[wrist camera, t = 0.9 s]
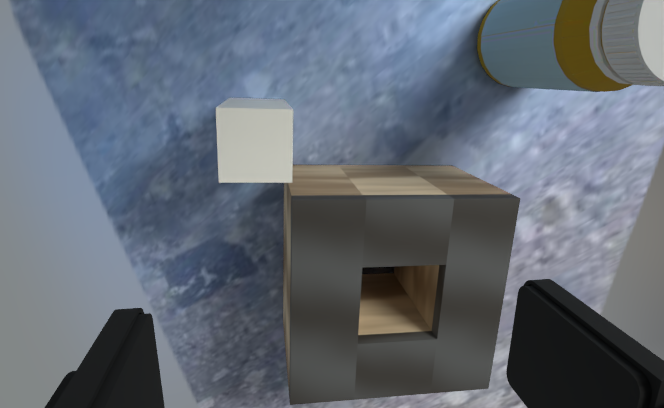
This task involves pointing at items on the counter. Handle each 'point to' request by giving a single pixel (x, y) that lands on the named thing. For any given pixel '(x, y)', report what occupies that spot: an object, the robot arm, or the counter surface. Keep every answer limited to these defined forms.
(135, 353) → the robot arm
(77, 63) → the counter surface
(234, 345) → the counter surface
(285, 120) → the peg
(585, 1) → the bottle
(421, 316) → the socket
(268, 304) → the counter surface
